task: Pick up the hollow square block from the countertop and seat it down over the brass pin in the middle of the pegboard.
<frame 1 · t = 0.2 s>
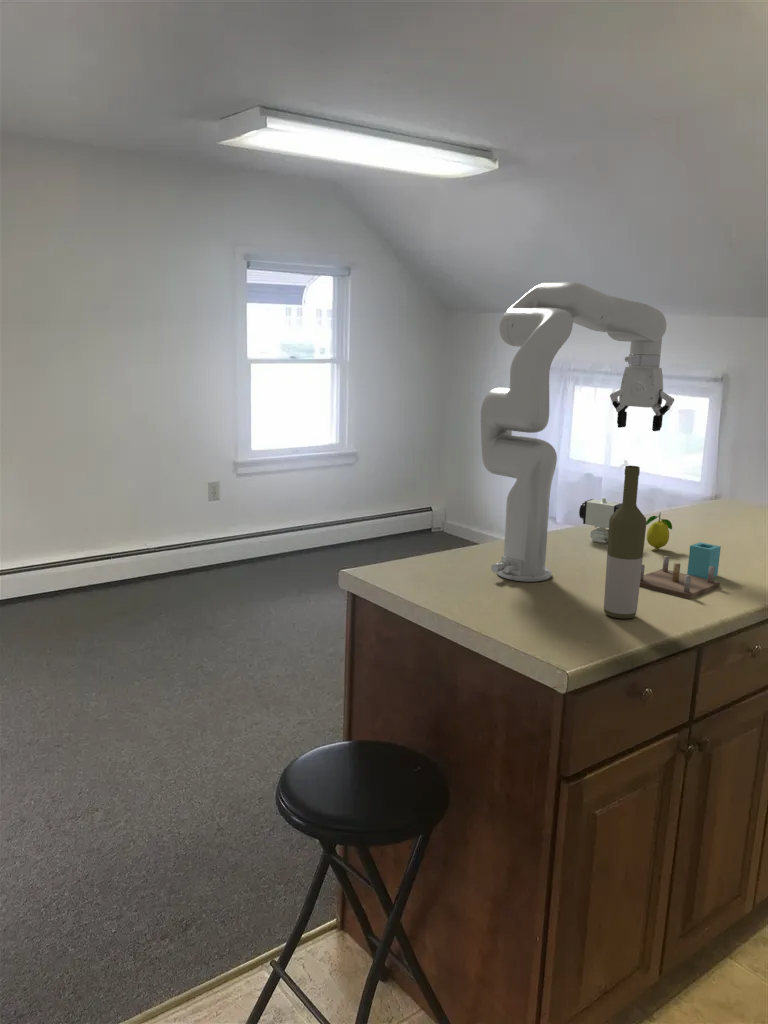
hand: (638, 429, 217), 31 cm above the worktop, fingers open, 9 cm apart
pegboard: (675, 585, 188), on the worktop
hollow square block: (702, 574, 197), on the worktop
lemon: (656, 550, 219), on the worktop
pneumatic valve: (601, 542, 227), on the worktop
bottle: (619, 616, 167), on the worktop
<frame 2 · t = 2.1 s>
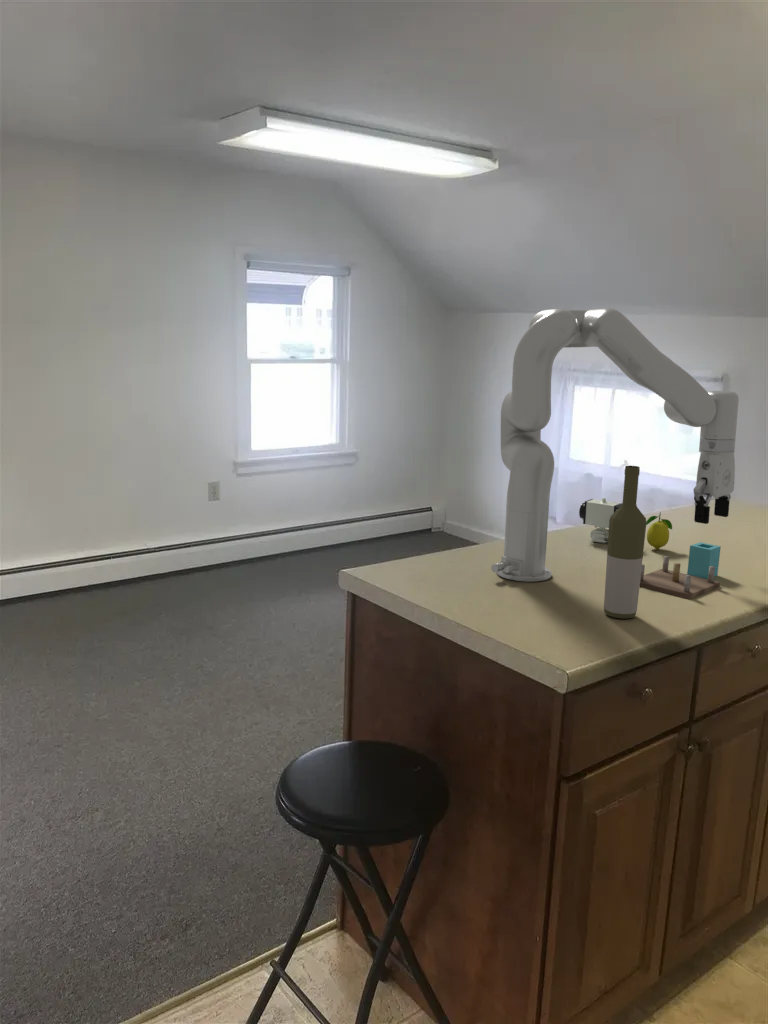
hand: (711, 519, 194), 13 cm above the worktop, fingers open, 9 cm apart
nothing on the worktop moved.
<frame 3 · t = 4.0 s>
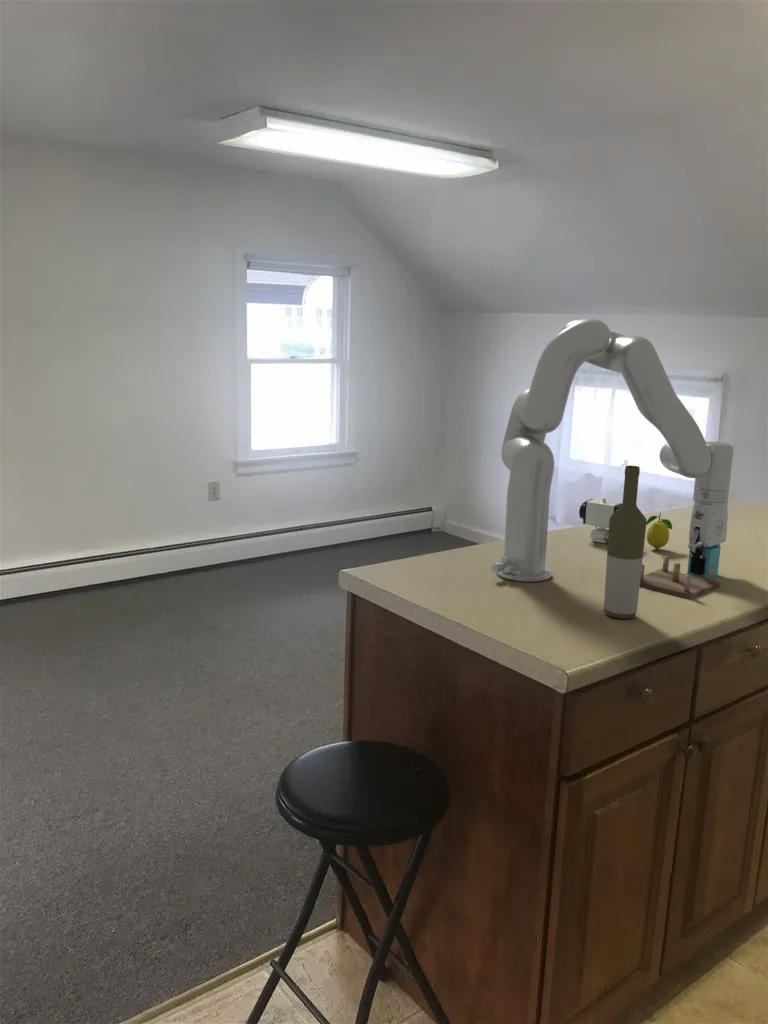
hand: (702, 571, 197), 1 cm above the worktop, fingers closed on hollow square block, 5 cm apart
hollow square block: (702, 574, 197), on the worktop, touching gripper
everything else where it was.
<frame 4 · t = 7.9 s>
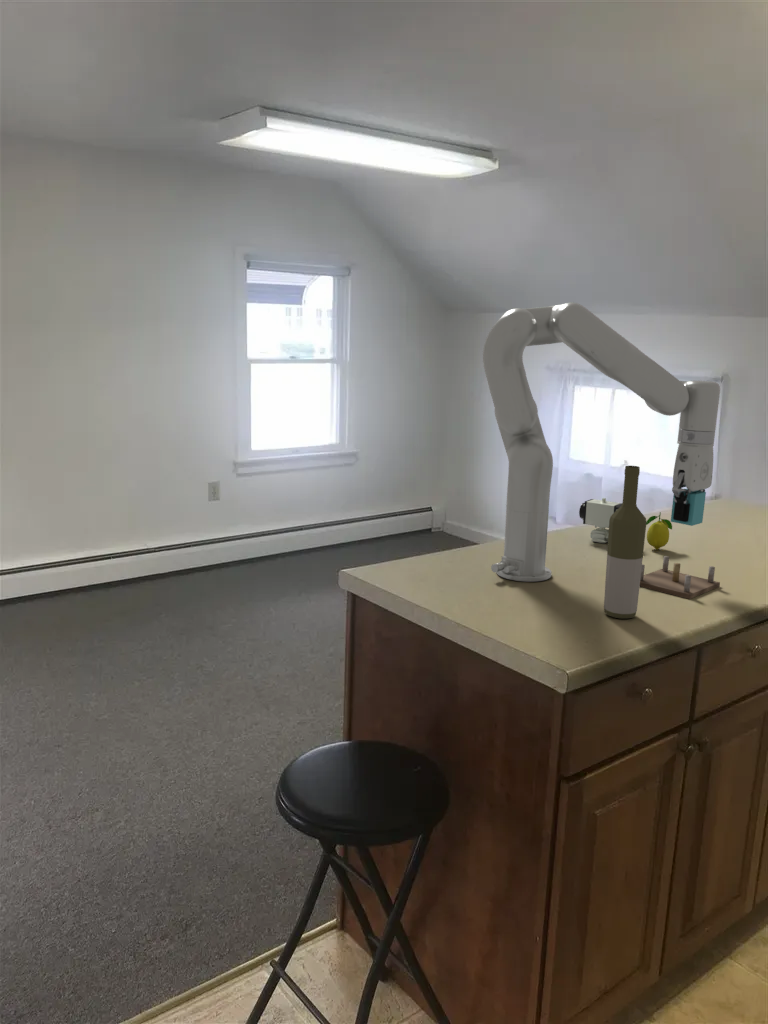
hand: (686, 518, 187), 15 cm above the worktop, fingers closed on hollow square block, 5 cm apart
hollow square block: (686, 522, 188), point 14 cm above the worktop, touching gripper
everything else where it was.
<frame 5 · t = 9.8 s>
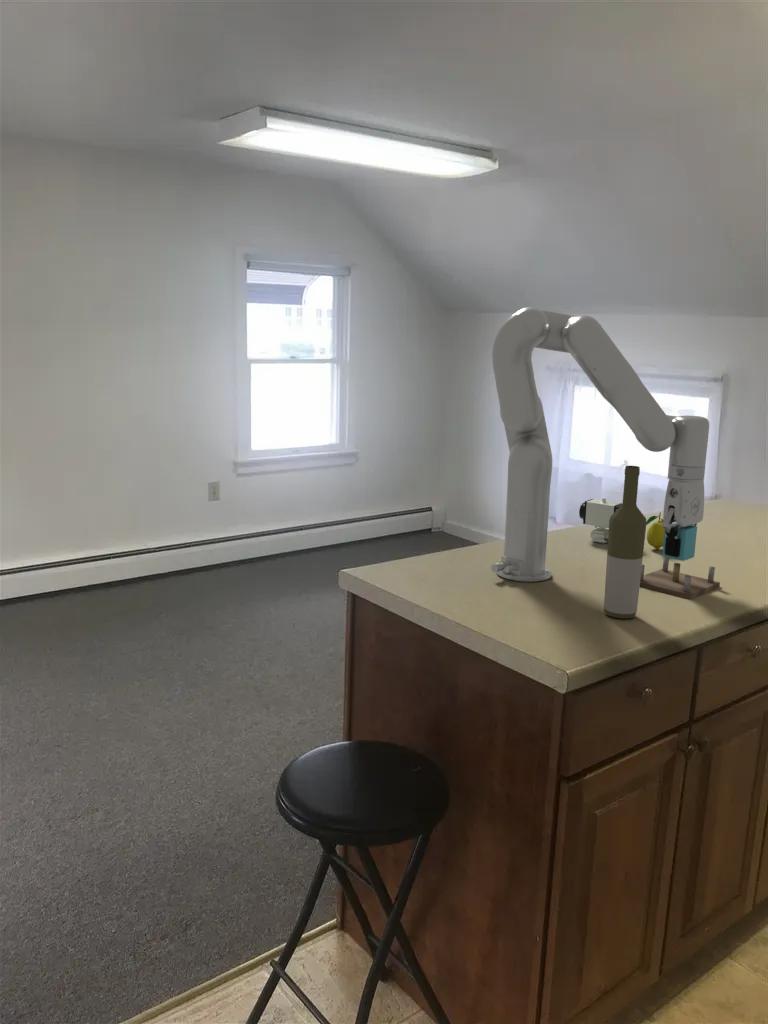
hand: (678, 552, 187), 8 cm above the worktop, fingers closed on hollow square block, 5 cm apart
hollow square block: (678, 556, 187), point 7 cm above the worktop, touching gripper
everything else where it was.
when the fingers open (3 cm above the worktop, at t = 11.8 s): hollow square block drops 1 cm, resting on pegboard.
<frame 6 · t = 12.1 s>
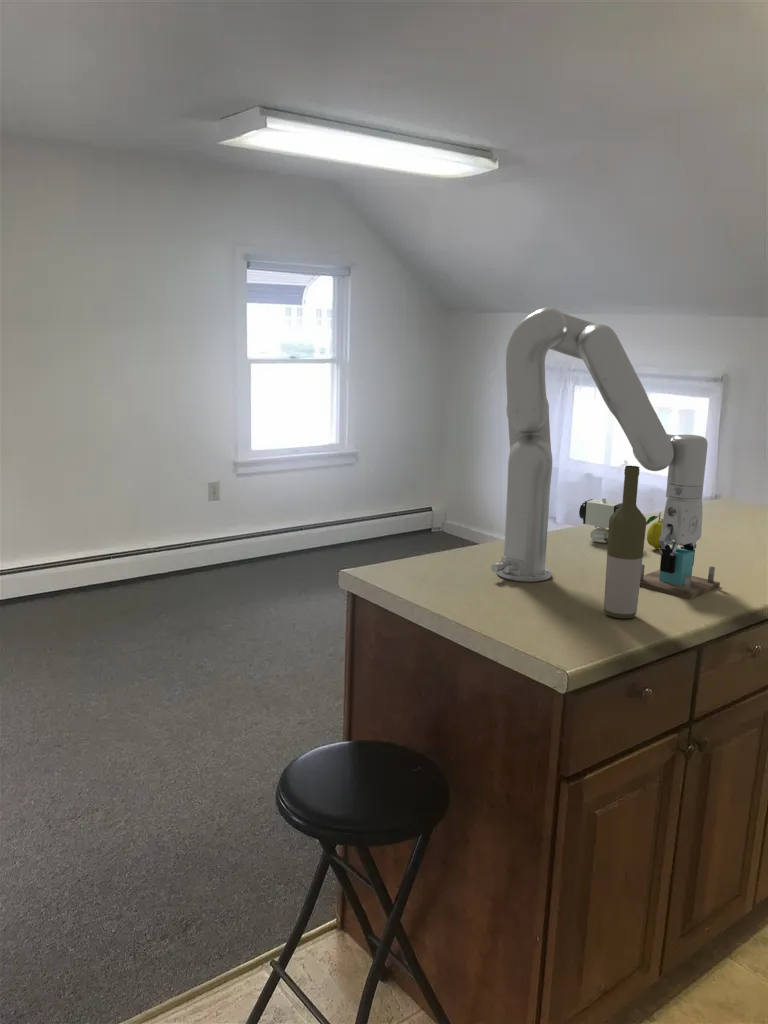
hand: (676, 568, 188), 4 cm above the worktop, fingers open, 8 cm apart
hollow square block: (675, 581, 188), point 1 cm above the worktop, touching pegboard
everything else where it was.
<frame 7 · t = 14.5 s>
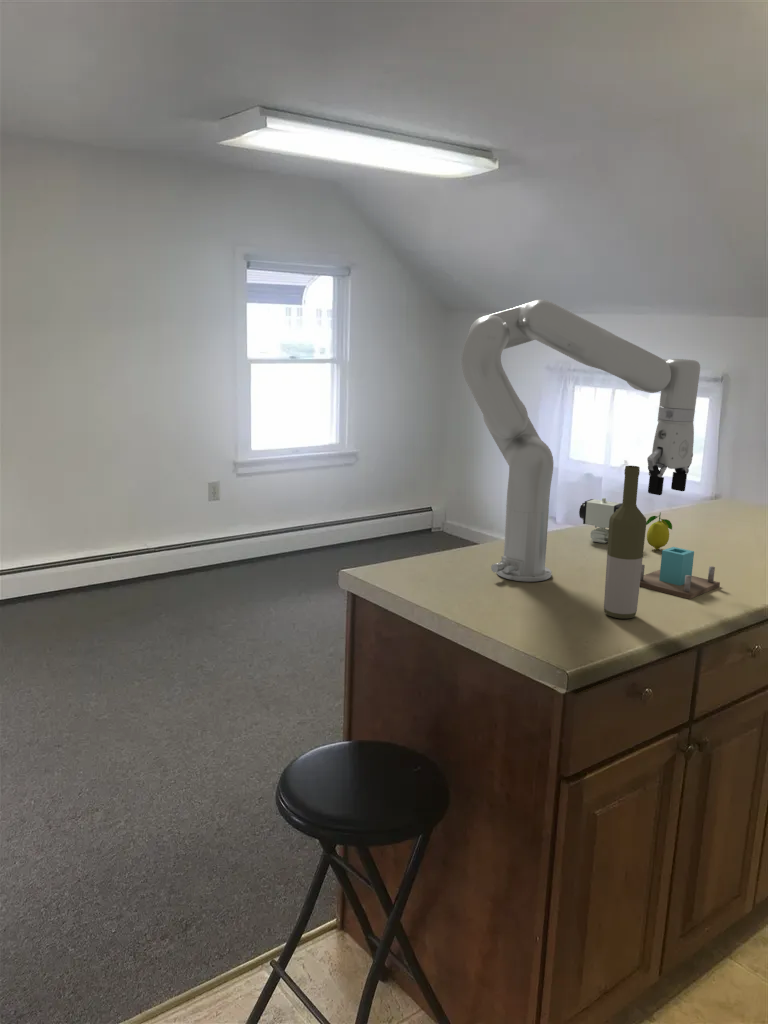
hand: (666, 492, 189), 20 cm above the worktop, fingers open, 9 cm apart
nothing on the worktop moved.
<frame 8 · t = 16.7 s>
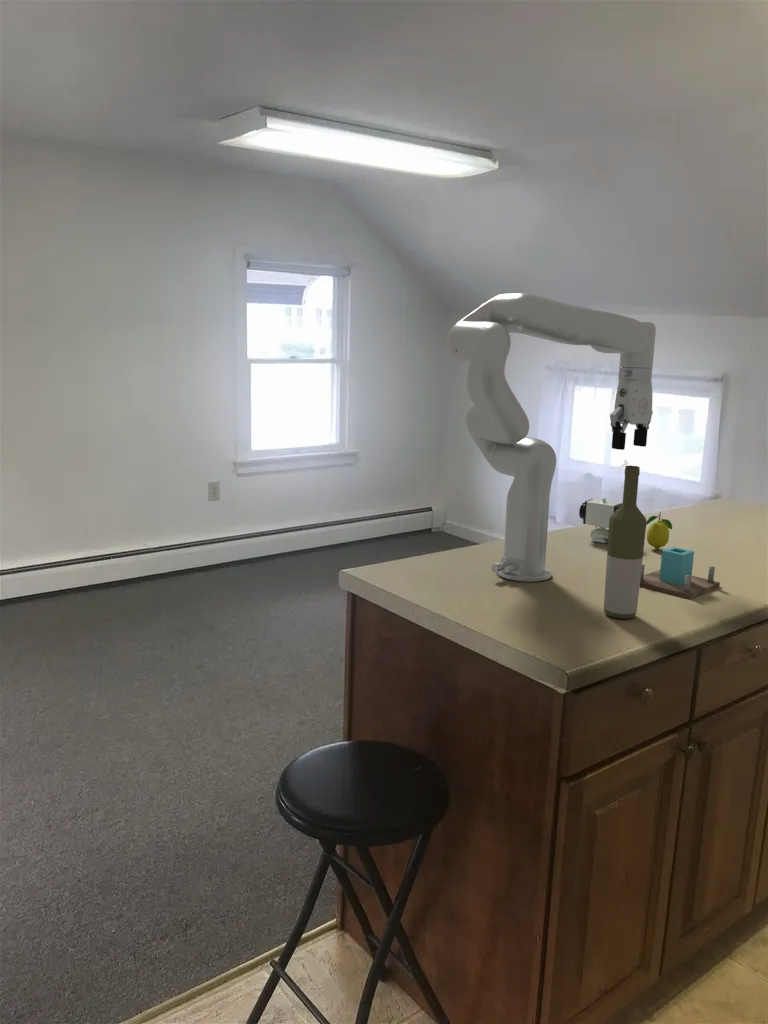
hand: (629, 447, 201), 28 cm above the worktop, fingers open, 9 cm apart
nothing on the worktop moved.
at the end: hollow square block 0.1 cm off-centre on the pegboard, point 1.0 cm above the pegboard's base; hollow square block tilted 0°; the gripper is holding nothing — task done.
